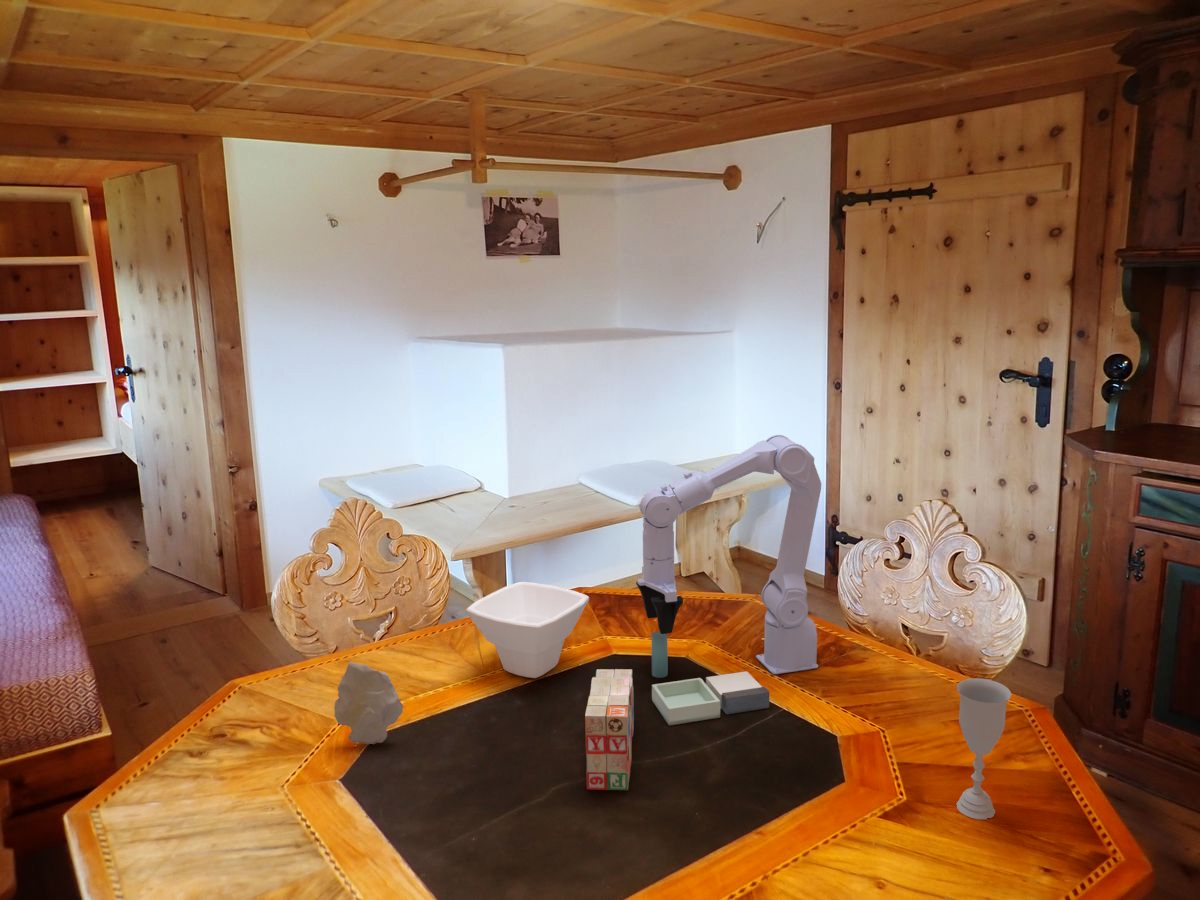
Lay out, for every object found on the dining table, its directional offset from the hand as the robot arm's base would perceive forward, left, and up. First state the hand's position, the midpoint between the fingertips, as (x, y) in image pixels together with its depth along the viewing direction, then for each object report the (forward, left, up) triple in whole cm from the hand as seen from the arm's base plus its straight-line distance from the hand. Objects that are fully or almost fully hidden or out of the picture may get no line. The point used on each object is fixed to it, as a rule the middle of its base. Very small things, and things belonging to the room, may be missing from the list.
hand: (659, 625), depth 166 cm
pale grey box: (-10, +12, -10) cm, 19 cm away
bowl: (+23, -9, -10) cm, 27 cm away
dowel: (0, 0, -10) cm, 10 cm away
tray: (0, +14, -10) cm, 17 cm away
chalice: (-29, +53, -10) cm, 61 cm away
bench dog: (-10, +17, -10) cm, 22 cm away
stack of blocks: (+16, +24, -10) cm, 30 cm away
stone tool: (+53, +10, -10) cm, 55 cm away
